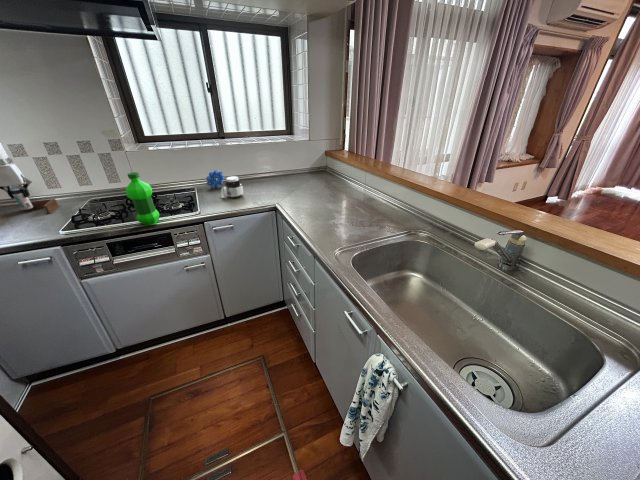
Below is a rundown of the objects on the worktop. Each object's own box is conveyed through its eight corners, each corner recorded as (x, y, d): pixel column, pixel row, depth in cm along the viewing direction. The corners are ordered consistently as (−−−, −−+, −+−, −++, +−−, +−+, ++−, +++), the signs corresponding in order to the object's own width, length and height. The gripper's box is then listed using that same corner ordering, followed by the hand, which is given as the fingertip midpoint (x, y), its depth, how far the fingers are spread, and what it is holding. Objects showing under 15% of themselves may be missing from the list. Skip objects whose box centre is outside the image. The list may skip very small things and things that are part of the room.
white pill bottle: (35, 206, 147) (23, 185, 141) (31, 209, 143) (19, 188, 137) (23, 207, 145) (11, 186, 139) (20, 211, 141) (6, 189, 135)
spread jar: (245, 196, 165) (243, 177, 159) (231, 201, 157) (228, 182, 151) (232, 192, 170) (229, 174, 165) (218, 197, 162) (214, 179, 156)
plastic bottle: (166, 219, 136) (151, 171, 124) (151, 228, 127) (133, 177, 115) (149, 217, 138) (132, 169, 125) (133, 226, 129) (113, 176, 117)
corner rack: (13, 218, 137) (8, 210, 135) (24, 209, 147) (19, 202, 144) (50, 213, 143) (46, 205, 140) (58, 205, 152) (54, 198, 150)
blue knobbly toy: (225, 184, 184) (221, 167, 178) (226, 187, 178) (223, 170, 172) (207, 187, 179) (203, 169, 173) (208, 190, 174) (204, 172, 168)
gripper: (-29, 165, 125) (-5, 202, 135) (18, 162, 131) (38, 197, 140) (-19, 162, 131) (3, 197, 141) (26, 159, 137) (44, 192, 146)
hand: (20, 196), depth 140 cm, fingers closed on white pill bottle, 4 cm apart
